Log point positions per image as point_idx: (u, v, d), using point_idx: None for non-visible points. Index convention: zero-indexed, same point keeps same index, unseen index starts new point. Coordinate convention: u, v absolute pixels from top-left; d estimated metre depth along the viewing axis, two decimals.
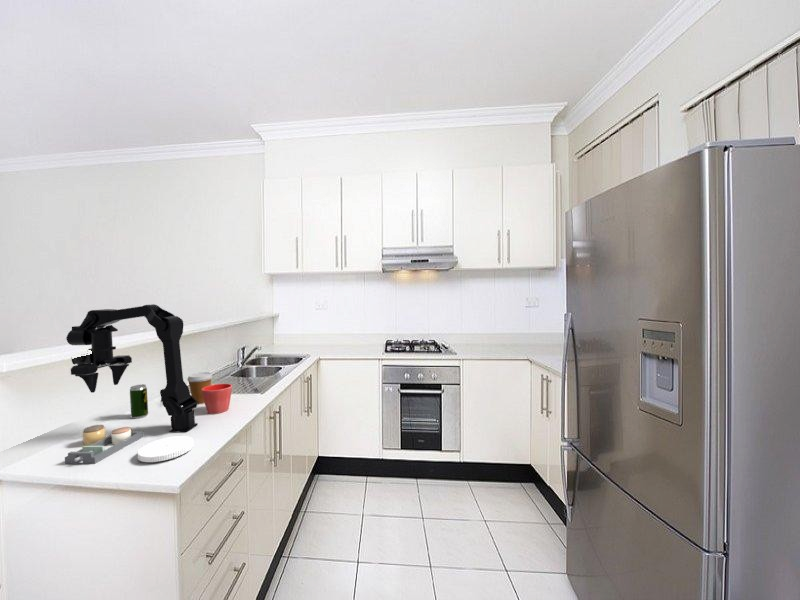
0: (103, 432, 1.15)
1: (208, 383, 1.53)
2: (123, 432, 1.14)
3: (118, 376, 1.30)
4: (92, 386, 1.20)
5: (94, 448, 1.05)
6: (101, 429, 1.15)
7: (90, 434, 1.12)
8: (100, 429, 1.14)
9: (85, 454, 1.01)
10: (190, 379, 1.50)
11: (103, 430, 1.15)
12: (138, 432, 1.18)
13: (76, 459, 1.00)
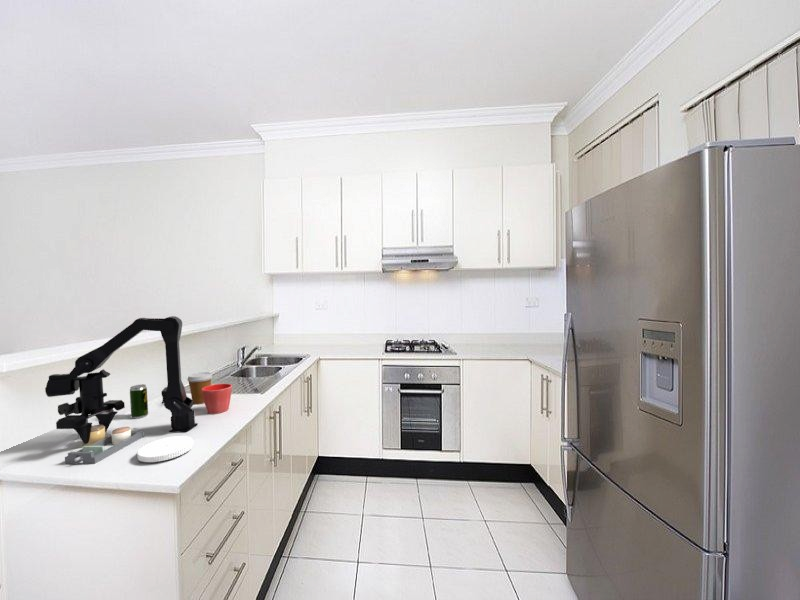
0: (103, 432, 1.15)
1: (208, 383, 1.53)
2: (123, 431, 1.14)
3: (105, 426, 1.18)
4: (85, 437, 1.11)
5: (94, 448, 1.05)
6: (101, 429, 1.15)
7: (90, 434, 1.12)
8: (100, 429, 1.14)
9: (85, 454, 1.01)
10: (190, 379, 1.50)
11: (103, 430, 1.15)
12: (138, 432, 1.18)
13: (76, 459, 1.00)
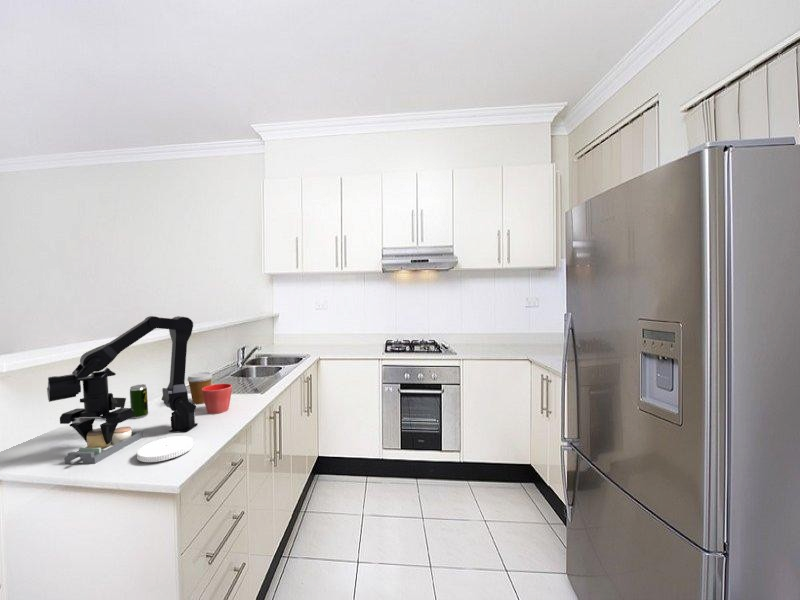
0: (92, 440, 1.05)
1: (208, 383, 1.53)
2: (127, 431, 1.15)
3: None
4: None
5: (91, 450, 1.04)
6: (90, 436, 1.05)
7: None
8: (89, 435, 1.05)
9: (85, 454, 1.01)
10: (190, 379, 1.50)
11: (92, 438, 1.05)
12: (138, 432, 1.18)
13: (72, 461, 0.99)
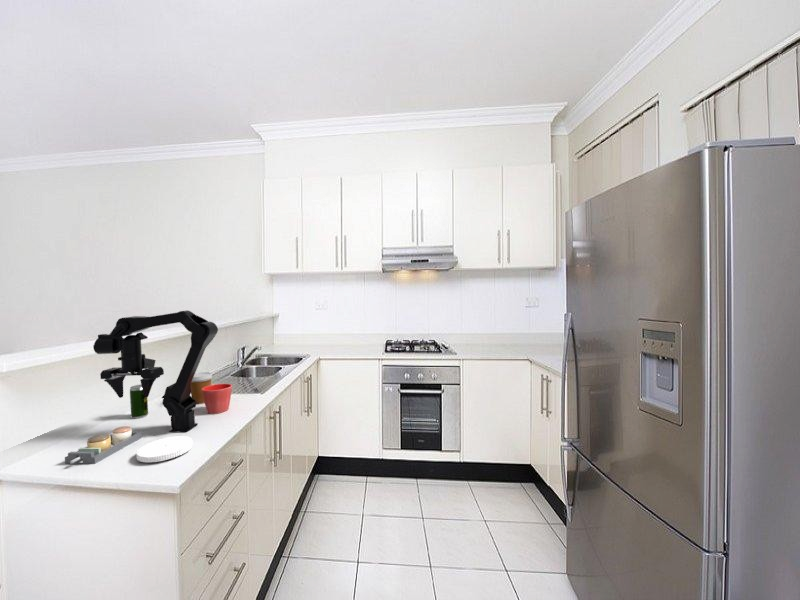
0: (93, 447, 1.05)
1: (208, 383, 1.53)
2: (130, 429, 1.16)
3: None
4: None
5: (90, 450, 1.04)
6: (91, 442, 1.05)
7: None
8: (90, 442, 1.05)
9: (85, 454, 1.01)
10: None
11: (93, 445, 1.05)
12: (138, 432, 1.18)
13: (72, 461, 0.99)
